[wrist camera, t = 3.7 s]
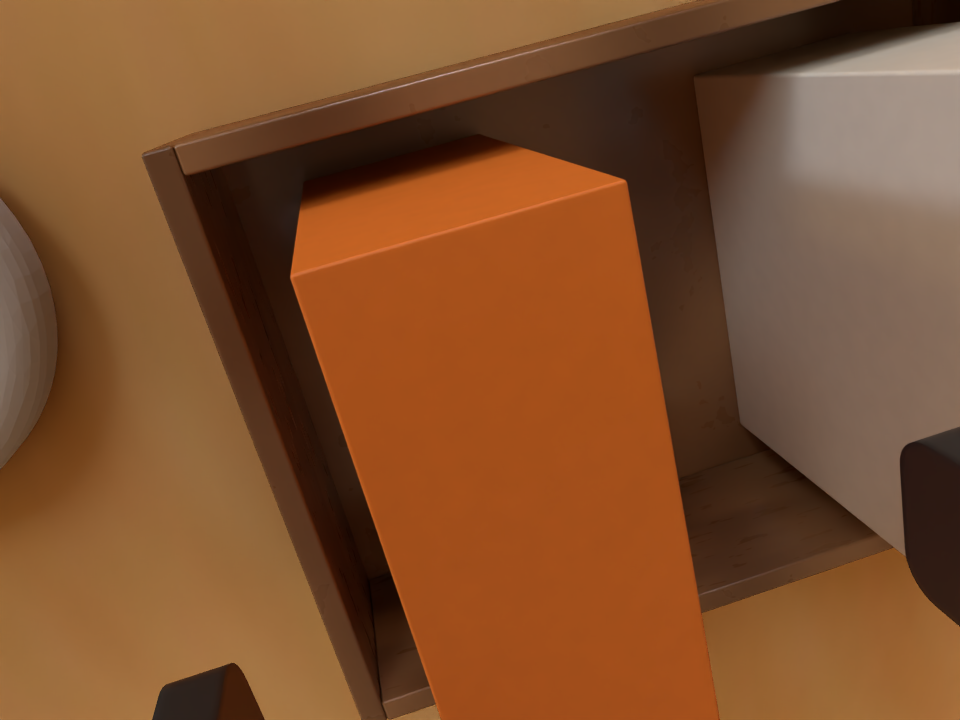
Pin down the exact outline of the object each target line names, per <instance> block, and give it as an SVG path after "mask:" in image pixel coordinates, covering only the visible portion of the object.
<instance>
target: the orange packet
mask: <svg viewBox="0 0 960 720" xmlns="http://www.w3.org/2000/svg"><path fill="white" fill-rule="evenodd" d="M290 279H291V282H292V285H293V288H294V291H295V294H296V296H297V299H298V302H299V305H300V308H301V311H302V314H303V317H304V320H305V323H306V326H307V329H308V332H309V334H310V337H311V340H312V343H313V346H314V349H315V352H316V355H317V358H318V361H319V364H320V367H321V370H322V373H323V375H324V378H325V381H326V384H327V387H328V390H329V393H330V396H331V399H332V402H333V405H334V408H335V411H336V413H337V416H338V419H339V422H340V425H341V428H342V431H343V434H344V437H345V440H346V443H347V446H348V449H349V451H350V454H351V457H352V460H353V463H354V466H355V469H356V472H357V475H358V478H359V481H360V484H361V487H362V489H363V492H364V495H365V498H366V501H367V504H368V507H369V510H370V513H371V516H372V519H373V522H374V525H375V527H376V530H377V533H378V536H379V539H380V542H381V545H382V548H383V551H384V554H385V557H386V560H387V563H388V565H389V568H390V571H391V574H392V577H393V580H394V583H395V586H396V589H397V592H398V595H399V598H400V601H401V603H402V606H403V609H404V612H405V615H406V618H407V621H408V624H409V627H410V630H411V633H412V636H413V639H414V642H415V644H416V647H417V650H418V653H419V656H420V659H421V662H422V665H423V668H424V671H425V674H426V677H427V680H428V682H429V685H430V688H431V691H432V694H433V697H434V700H435V703H436V706H437V709H438V712H439V715H440V718H441V720H720V718H719V712H718V706H717V700H716V694H715V689H714V683H713V677H712V671H711V666H710V660H709V654H708V648H707V642H706V637H705V631H704V625H703V619H702V613H701V608H700V602H699V596H698V590H697V584H696V579H695V573H694V567H693V561H692V556H691V550H690V544H689V538H688V532H687V527H686V521H685V515H684V509H683V503H682V498H681V492H680V486H679V480H678V474H677V469H676V463H675V457H674V451H673V446H672V440H671V434H670V428H669V422H668V417H667V411H666V405H665V399H664V393H663V388H662V382H661V376H660V370H659V365H658V359H657V353H656V347H655V341H654V336H653V330H652V324H651V318H650V312H649V307H648V301H647V295H646V289H645V283H644V278H643V272H642V266H641V260H640V255H639V249H638V243H637V237H636V231H635V226H634V220H633V214H632V208H631V202H630V197H629V191H628V185H627V182H626V180H624V179H621V178H618V177H615V176H612V175H609V174H605V173H602V172H599V171H596V170H593V169H589V168H586V167H583V166H580V165H577V164H573V163H570V162H567V161H564V160H561V159H557V158H554V157H551V156H548V155H545V154H541V153H538V152H535V151H532V150H529V149H525V148H522V147H519V146H516V145H513V144H509V143H506V142H503V141H500V140H497V139H493V138H490V137H487V136H484V135H481V134H477V135H473V136H469V137H466V138H462V139H458V140H455V141H451V142H447V143H444V144H440V145H436V146H433V147H429V148H425V149H422V150H418V151H414V152H411V153H407V154H403V155H400V156H396V157H392V158H389V159H385V160H381V161H378V162H374V163H370V164H367V165H363V166H359V167H356V168H352V169H348V170H345V171H341V172H337V173H334V174H330V175H326V176H323V177H319V178H315V179H312V180H308V181H305V182H304V183H303V190H302V197H301V204H300V211H299V218H298V225H297V232H296V240H295V247H294V254H293V261H292V268H291V275H290Z"/></svg>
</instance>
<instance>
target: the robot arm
mask: <svg viewBox="0 0 960 720" xmlns="http://www.w3.org/2000/svg"><path fill="white" fill-rule="evenodd" d="M900 478H901V494H902V511H903V527H904V543H905V554H906V559H907V562H908V565H909V568H910V570H911V573H912V575H913V577H914V579H915V581H916V583H917V584H918V586H919V587H920V589H921V590H922V592H923V593H924V594H925V595H926V597H927V598H928V599H929V600H930V601H931V602H932V603H933V604H934V605H935V606H936V607H937V608H939V609H940V610H941V611H942V612H943V613H945V614H946V615H947V616H948V617H949V618H950V619H952V620H953V621H954V622H955V623H956V624H957V625H959V626H960V427H957V428H954V429H951V430H947V431H944V432H941V433H938V434H935V435H932V436H929V437H926V438H923V439H920V440H917V441H914V442H911V443H908V444H907V445H905V446H904V448H903V449H902V452H901V455H900ZM152 720H265V719H264V717H263V715H262V713H261V711H260V708H259V706H258V704H257V702H256V699H255V697H254V695H253V693H252V691H251V688H250V686H249V684H248V682H247V680H246V678H245V676H244V674H243V672H242V670H241V669H240V668H239V667H238V665H236V664H235V663H230V664H227V665H224V666H221V667H218V668H215V669H212V670H209V671H206V672H203V673H200V674H197V675H194V676H191V677H188V678H185V679H182V680H179V681H175V682H172V683H169V684H167V685H165V686H164V687H163V688H162V690H161V691H160V694H159V697H158V700H157V704H156V708H155V711H154V715H153V719H152Z"/></svg>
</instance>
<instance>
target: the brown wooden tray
mask: <svg viewBox="0 0 960 720" xmlns="http://www.w3.org/2000/svg"><path fill="white" fill-rule="evenodd" d="M953 22H960V0H697V1H693V2H689V3H686V4H682V5H678V6H674V7H671V8H667V9H663V10H659V11H655V12H652V13H648V14H644V15H640V16H636V17H633V18H629V19H625V20H621V21H617V22H614V23H610V24H606V25H602V26H598V27H595V28H591V29H587V30H583V31H579V32H576V33H572V34H568V35H564V36H560V37H557V38H553V39H549V40H545V41H541V42H538V43H534V44H530V45H526V46H522V47H519V48H515V49H511V50H507V51H503V52H500V53H496V54H492V55H488V56H485V57H481V58H477V59H473V60H469V61H466V62H462V63H458V64H454V65H450V66H447V67H443V68H439V69H435V70H431V71H428V72H424V73H420V74H416V75H412V76H409V77H405V78H401V79H397V80H393V81H390V82H386V83H382V84H378V85H374V86H371V87H367V88H363V89H359V90H355V91H352V92H348V93H344V94H340V95H336V96H333V97H329V98H325V99H321V100H317V101H314V102H310V103H306V104H302V105H298V106H295V107H291V108H287V109H283V110H280V111H276V112H272V113H268V114H264V115H261V116H257V117H253V118H249V119H245V120H242V121H238V122H234V123H230V124H226V125H223V126H219V127H215V128H211V129H207V130H204V131H200V132H196V133H192V134H189V135H187V136H184V137H182V138H179V139H177V140H174V141H172V142H169V143H167V144H164V145H162V146H159V147H157V148H154V149H152V150H149V151H147V152H144V153H143V154H142V159H143V161H144V164H145V166H146V169H147V171H148V174H149V177H150V179H151V182H152V184H153V187H154V189H155V192H156V195H157V197H158V200H159V202H160V205H161V207H162V210H163V212H164V215H165V218H166V220H167V223H168V225H169V228H170V230H171V233H172V235H173V238H174V241H175V243H176V246H177V248H178V251H179V253H180V256H181V259H182V261H183V264H184V266H185V269H186V271H187V274H188V276H189V279H190V282H191V284H192V287H193V289H194V292H195V294H196V297H197V300H198V302H199V305H200V307H201V310H202V312H203V315H204V317H205V320H206V323H207V325H208V328H209V330H210V333H211V335H212V338H213V341H214V343H215V346H216V348H217V351H218V353H219V356H220V358H221V361H222V364H223V366H224V369H225V371H226V374H227V376H228V379H229V381H230V384H231V387H232V389H233V392H234V394H235V397H236V399H237V402H238V405H239V407H240V410H241V412H242V415H243V417H244V420H245V422H246V425H247V428H248V430H249V433H250V435H251V438H252V440H253V443H254V446H255V448H256V451H257V453H258V456H259V458H260V461H261V463H262V466H263V469H264V471H265V474H266V476H267V479H268V481H269V484H270V487H271V489H272V492H273V494H274V497H275V499H276V502H277V504H278V507H279V510H280V512H281V515H282V517H283V520H284V522H285V525H286V527H287V530H288V533H289V535H290V538H291V540H292V543H293V545H294V548H295V551H296V553H297V556H298V558H299V561H300V563H301V566H302V568H303V571H304V574H305V576H306V579H307V581H308V584H309V586H310V589H311V592H312V594H313V597H314V599H315V602H316V604H317V607H318V609H319V612H320V615H321V617H322V620H323V622H324V625H325V627H326V630H327V632H328V635H329V638H330V640H331V643H332V645H333V648H334V650H335V653H336V656H337V658H338V661H339V663H340V666H341V668H342V671H343V673H344V676H345V679H346V681H347V684H348V686H349V689H350V691H351V694H352V697H353V699H354V702H355V704H356V707H357V709H358V712H359V714H360V717H361V720H387V718H388V719H389V720H391V719H394V718H396V717H399V716H402V715H405V714H408V713H411V712H414V711H417V710H420V709H423V708H426V707H429V706H432V705H435V704H436V703H435V700H434V697H433V694H432V691H431V688H430V685H429V682H428V680H427V677H426V674H425V671H424V668H423V665H422V662H421V659H420V656H419V653H418V650H417V647H416V644H415V642H414V639H413V636H412V633H411V630H410V627H409V624H408V621H407V618H406V615H405V612H404V609H403V606H402V603H401V601H400V598H399V595H398V592H397V589H396V586H395V583H394V580H393V577H392V574H391V571H390V568H389V565H388V563H387V560H386V557H385V554H384V551H383V548H382V545H381V542H380V539H379V536H378V533H377V530H376V527H375V525H374V522H373V519H372V516H371V513H370V510H369V507H368V504H367V501H366V498H365V495H364V492H363V489H362V487H361V484H360V481H359V478H358V475H357V472H356V469H355V466H354V463H353V460H352V457H351V454H350V451H349V449H348V446H347V443H346V440H345V437H344V434H343V431H342V428H341V425H340V422H339V419H338V416H337V413H336V411H335V408H334V405H333V402H332V399H331V396H330V393H329V390H328V387H327V384H326V381H325V378H324V375H323V373H322V370H321V367H320V364H319V361H318V358H317V355H316V352H315V349H314V346H313V343H312V340H311V337H310V334H309V332H308V329H307V326H306V323H305V320H304V317H303V314H302V311H301V308H300V305H299V302H298V299H297V296H296V294H295V291H294V288H293V285H292V282H291V279H290V275H291V268H292V261H293V254H294V247H295V240H296V232H297V225H298V218H299V211H300V204H301V197H302V190H303V183H304V182H305V181H308V180H312V179H315V178H319V177H323V176H326V175H330V174H334V173H337V172H341V171H345V170H348V169H352V168H356V167H359V166H363V165H367V164H370V163H374V162H378V161H381V160H385V159H389V158H392V157H396V156H400V155H403V154H407V153H411V152H414V151H418V150H422V149H425V148H429V147H433V146H436V145H440V144H444V143H447V142H451V141H455V140H458V139H462V138H466V137H469V136H473V135H477V134H481V135H484V136H487V137H490V138H493V139H497V140H500V141H503V142H506V143H509V144H513V145H516V146H519V147H522V148H525V149H529V150H532V151H535V152H538V153H541V154H545V155H548V156H551V157H554V158H557V159H561V160H564V161H567V162H570V163H573V164H577V165H580V166H583V167H586V168H589V169H593V170H596V171H599V172H602V173H605V174H609V175H612V176H615V177H618V178H621V179H624V180H626V182H627V185H628V191H629V197H630V202H631V208H632V214H633V220H634V226H635V231H636V237H637V243H638V249H639V255H640V260H641V266H642V272H643V278H644V283H645V289H646V295H647V301H648V307H649V312H650V318H651V324H652V330H653V336H654V341H655V347H656V353H657V359H658V365H659V370H660V376H661V382H662V388H663V393H664V399H665V405H666V411H667V417H668V422H669V428H670V434H671V440H672V446H673V451H674V457H675V463H676V469H677V474H678V480H679V486H680V492H681V498H682V503H683V509H684V515H685V521H686V527H687V532H688V538H689V544H690V550H691V556H692V561H693V567H694V573H695V579H696V584H697V590H698V596H699V602H700V608H701V613H704V612H707V611H710V610H713V609H715V608H718V607H721V606H724V605H727V604H730V603H733V602H736V601H739V600H742V599H745V598H748V597H751V596H754V595H756V594H759V593H762V592H765V591H768V590H771V589H774V588H777V587H780V586H783V585H786V584H789V583H792V582H795V581H797V580H800V579H803V578H806V577H809V576H812V575H815V574H818V573H821V572H824V571H827V570H830V569H833V568H835V567H838V566H841V565H844V564H847V563H850V562H853V561H856V560H859V559H862V558H865V557H868V556H871V555H874V554H876V553H879V552H882V551H885V550H888V549H891V548H894V547H893V546H892V545H890V544H889V543H888V542H887V541H885V540H884V539H883V538H882V537H880V536H879V535H878V534H877V533H875V532H874V531H873V530H872V529H870V528H869V527H868V526H867V525H866V524H864V523H863V522H862V521H861V520H859V519H858V518H857V517H856V516H854V515H853V514H852V513H851V512H849V511H848V510H847V509H846V508H844V507H843V506H842V505H841V504H839V503H838V502H837V501H836V500H834V499H833V498H832V497H831V496H829V495H828V494H827V493H826V492H825V491H823V490H822V489H821V488H820V487H818V486H817V485H816V484H815V483H813V482H812V481H811V480H810V479H808V478H807V477H806V476H805V475H803V474H802V473H801V472H800V471H798V470H797V469H796V468H795V467H793V466H792V465H791V464H790V463H788V462H787V461H786V460H785V459H784V458H782V457H781V456H780V455H779V454H777V453H776V452H775V451H774V450H772V449H771V448H770V447H769V446H767V445H766V444H765V443H764V442H762V441H761V440H760V439H759V438H757V437H756V436H755V435H754V434H752V433H751V432H750V431H749V430H747V429H746V428H745V427H744V426H743V425H741V423H740V417H739V410H738V402H737V395H736V387H735V380H734V373H733V365H732V358H731V351H730V343H729V336H728V329H727V321H726V314H725V306H724V299H723V292H722V284H721V277H720V270H719V262H718V255H717V248H716V240H715V233H714V225H713V218H712V211H711V203H710V196H709V189H708V181H707V174H706V167H705V159H704V152H703V145H702V137H701V130H700V122H699V115H698V108H697V100H696V93H695V86H694V76H695V75H697V74H701V73H704V72H708V71H712V70H715V69H719V68H723V67H726V66H730V65H734V64H737V63H741V62H745V61H748V60H752V59H756V58H759V57H763V56H767V55H770V54H774V53H778V52H781V51H785V50H789V49H792V48H796V47H800V46H803V45H807V44H811V43H814V42H818V41H822V40H825V39H829V38H833V37H836V36H840V35H844V34H847V33H851V32H859V31H870V30H880V29H891V28H901V27H911V26H922V25H932V24H943V23H953Z"/></svg>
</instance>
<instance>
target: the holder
mask: <svg viewBox="0 0 960 720" xmlns="http://www.w3.org/2000/svg"><path fill="white" fill-rule="evenodd" d="M57 350H58V336H57V321H56V313H55V306H54V302H53V298H52V293H51V289H50V285H49V283H48V280H47V277H46V274H45V271H44V268H43V266H42V263H41V261H40V259H39V257H38V255H37V253H36V251H35V249H34V247H33V245H32V243H31V241H30V239H29V237H28V235H27V234H26V232H25V231H24V229H23V228H22V226H21V225H20V223H19V222H18V220H17V219H16V217H15V216H14V214H13V213H12V212H11V211H10V209H9V208H8V207H7V206H6V204H5V203H4V202H3V201H2V199H1V198H0V469H1V468H2V467H3V466H4V465H5V464H6V463H7V461H8V460H9V459H10V458H11V457H12V455H13V454H14V453H15V452H16V450H17V449H18V448H19V447H20V445H21V444H22V443H23V442H24V440H25V439H26V438H27V437H28V435H29V434H30V432H31V430H32V429H33V427H34V426H35V424H36V423H37V421H38V419H39V417H40V415H41V413H42V411H43V408H44V406H45V404H46V402H47V399H48V396H49V393H50V390H51V387H52V383H53V378H54V374H55V369H56V361H57Z"/></svg>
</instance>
